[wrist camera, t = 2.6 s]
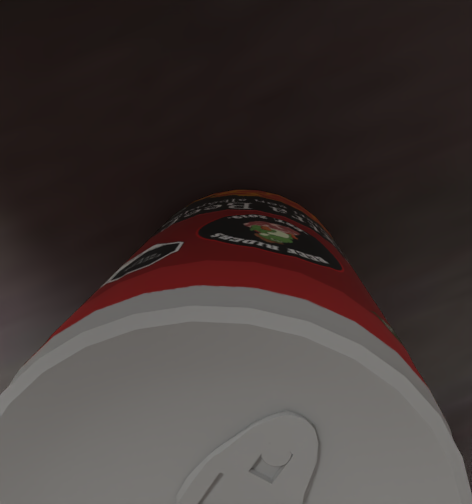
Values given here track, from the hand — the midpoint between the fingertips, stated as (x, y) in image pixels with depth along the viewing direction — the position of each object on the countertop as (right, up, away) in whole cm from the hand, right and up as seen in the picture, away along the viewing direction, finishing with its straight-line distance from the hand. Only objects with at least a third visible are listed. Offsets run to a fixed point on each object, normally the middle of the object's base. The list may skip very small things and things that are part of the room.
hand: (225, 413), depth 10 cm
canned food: (0, +2, +7) cm, 7 cm away
